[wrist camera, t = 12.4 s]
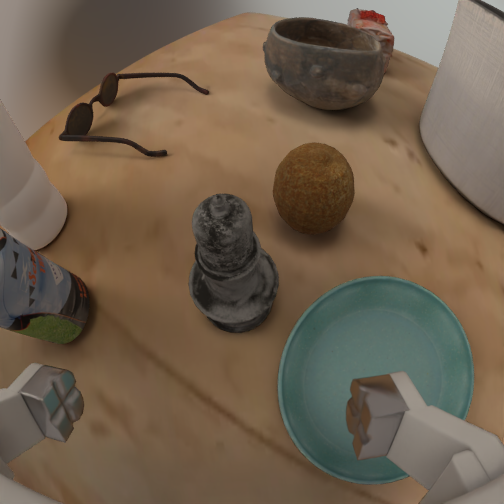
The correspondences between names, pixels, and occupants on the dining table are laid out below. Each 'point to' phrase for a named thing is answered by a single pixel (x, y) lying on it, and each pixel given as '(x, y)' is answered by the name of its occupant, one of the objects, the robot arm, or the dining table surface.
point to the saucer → (368, 366)
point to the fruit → (313, 188)
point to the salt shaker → (230, 266)
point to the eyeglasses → (83, 112)
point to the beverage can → (39, 295)
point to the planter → (470, 108)
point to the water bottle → (26, 191)
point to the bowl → (324, 62)
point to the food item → (374, 29)
